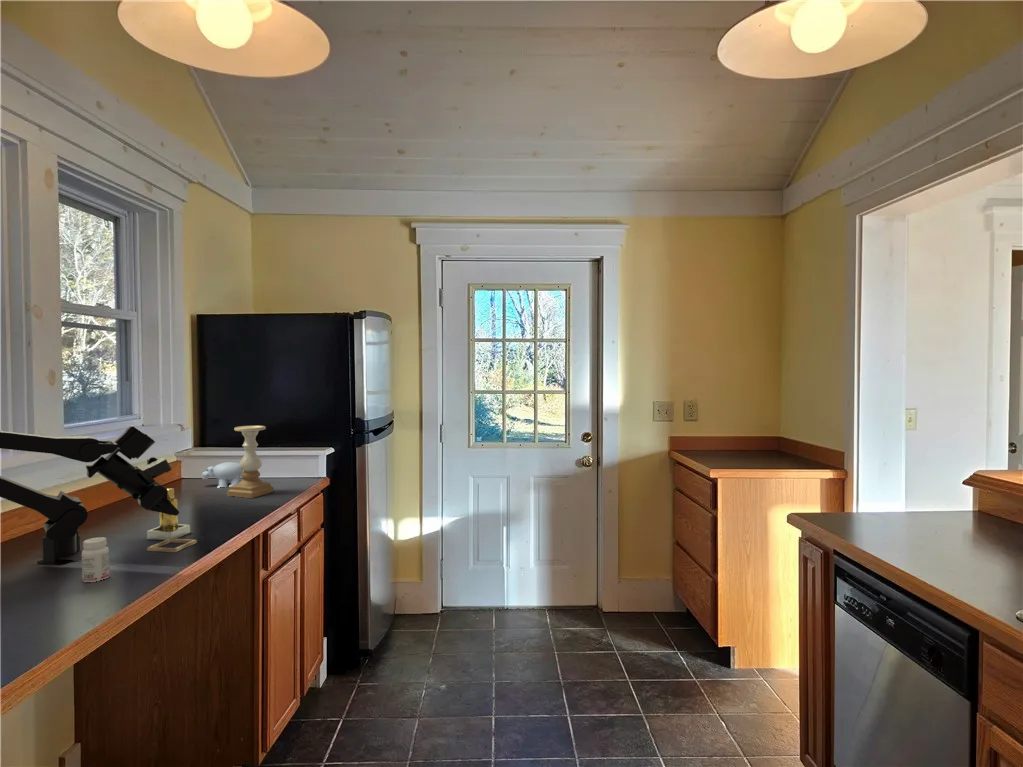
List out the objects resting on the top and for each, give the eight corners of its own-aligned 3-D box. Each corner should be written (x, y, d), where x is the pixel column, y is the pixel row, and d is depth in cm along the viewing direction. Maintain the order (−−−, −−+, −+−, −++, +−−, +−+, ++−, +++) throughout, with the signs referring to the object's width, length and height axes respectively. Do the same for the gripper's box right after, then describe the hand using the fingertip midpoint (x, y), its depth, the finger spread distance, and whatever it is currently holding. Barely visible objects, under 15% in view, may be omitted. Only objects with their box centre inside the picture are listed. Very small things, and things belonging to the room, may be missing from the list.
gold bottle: (170, 538, 147) (169, 491, 146) (156, 537, 147) (155, 490, 147) (181, 533, 151) (180, 488, 150) (167, 532, 151) (167, 487, 151)
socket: (171, 546, 145) (171, 532, 145) (146, 544, 146) (146, 531, 146) (190, 537, 152) (190, 524, 152) (166, 536, 153) (166, 523, 153)
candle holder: (249, 489, 211) (249, 424, 210) (274, 491, 208) (273, 425, 207) (226, 496, 201) (225, 427, 200) (252, 498, 197) (251, 429, 196)
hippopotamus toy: (203, 484, 221) (203, 459, 221) (246, 481, 227) (246, 457, 227) (200, 489, 211) (200, 464, 211) (245, 486, 217) (245, 461, 217)
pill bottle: (105, 573, 126) (104, 535, 126) (112, 578, 123) (112, 539, 123) (79, 579, 122) (78, 540, 122) (85, 584, 119) (85, 544, 119)
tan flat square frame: (175, 558, 136) (175, 549, 136) (146, 556, 137) (146, 547, 137) (197, 548, 143) (197, 539, 143) (170, 547, 144) (169, 538, 144)
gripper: (155, 452, 138) (207, 491, 146) (142, 444, 152) (189, 480, 160) (117, 490, 134) (172, 528, 141) (106, 478, 148) (157, 513, 155)
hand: (174, 510), depth 150 cm, fingers open, 9 cm apart
